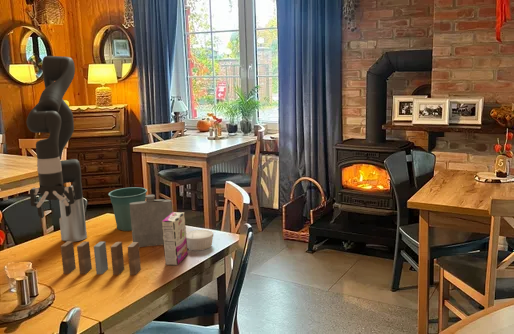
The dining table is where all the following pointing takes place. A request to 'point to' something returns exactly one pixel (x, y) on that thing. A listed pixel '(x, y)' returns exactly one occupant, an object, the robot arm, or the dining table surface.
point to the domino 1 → (68, 257)
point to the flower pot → (125, 205)
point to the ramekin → (199, 239)
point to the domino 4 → (117, 258)
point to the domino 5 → (134, 258)
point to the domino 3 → (100, 257)
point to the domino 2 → (84, 257)
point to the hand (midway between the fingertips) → (55, 216)
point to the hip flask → (149, 220)
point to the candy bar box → (174, 238)
